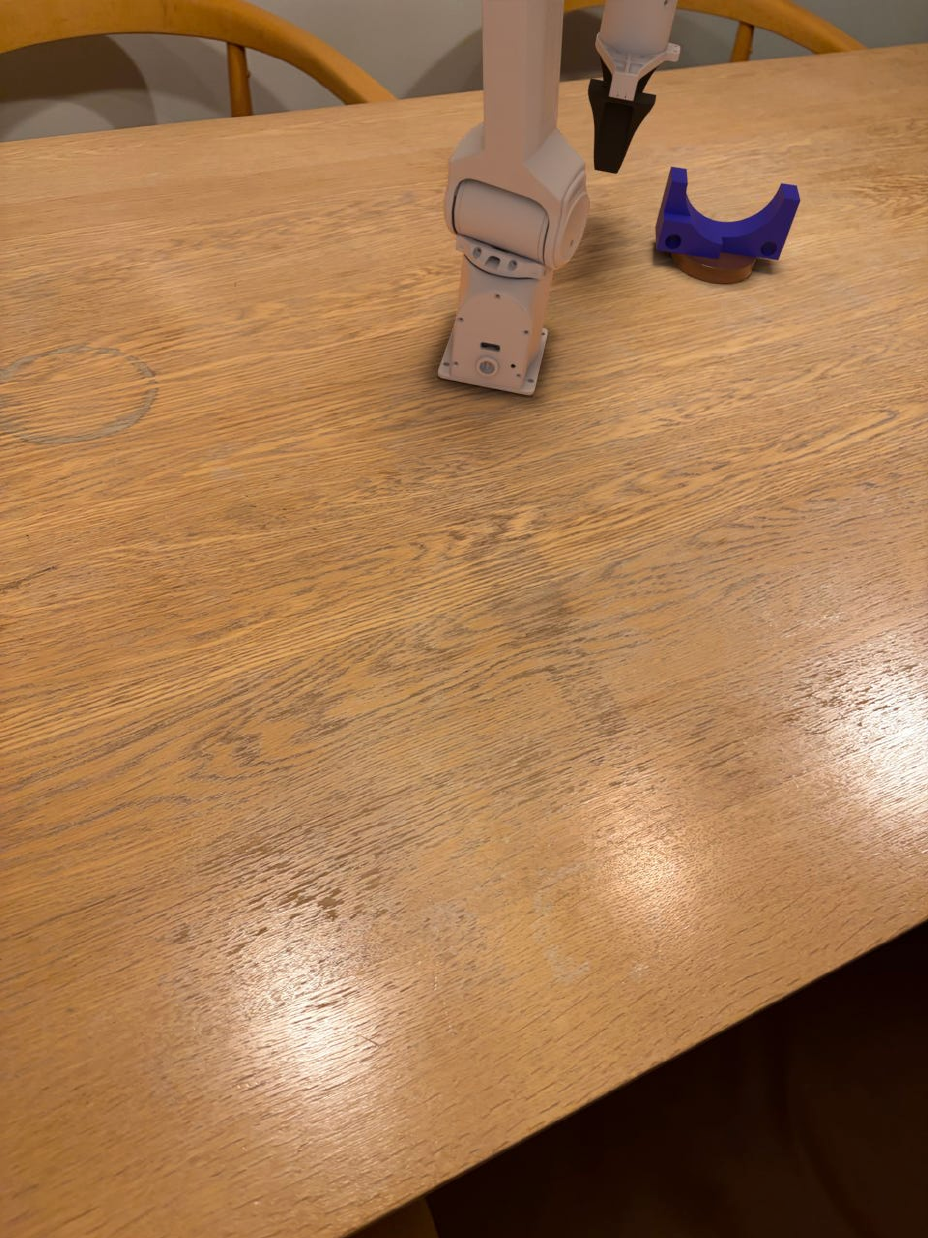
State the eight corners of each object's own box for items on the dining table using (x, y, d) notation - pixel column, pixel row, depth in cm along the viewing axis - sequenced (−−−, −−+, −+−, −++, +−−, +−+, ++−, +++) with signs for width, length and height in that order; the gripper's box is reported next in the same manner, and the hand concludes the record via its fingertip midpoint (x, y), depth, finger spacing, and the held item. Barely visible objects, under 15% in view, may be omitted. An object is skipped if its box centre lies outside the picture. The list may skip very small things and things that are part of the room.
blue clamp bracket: (656, 249, 94) (672, 188, 90) (655, 226, 97) (670, 166, 93) (779, 268, 95) (802, 208, 90) (775, 244, 97) (796, 185, 93)
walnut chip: (751, 290, 94) (756, 275, 93) (669, 274, 95) (673, 259, 94) (751, 248, 100) (756, 235, 98) (673, 234, 100) (677, 220, 99)
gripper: (692, 20, 74) (648, 196, 84) (697, -38, 83) (658, 126, 94) (599, 3, 74) (567, 181, 85) (615, -53, 84) (584, 113, 94)
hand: (609, 151), depth 89 cm, fingers open, 7 cm apart
